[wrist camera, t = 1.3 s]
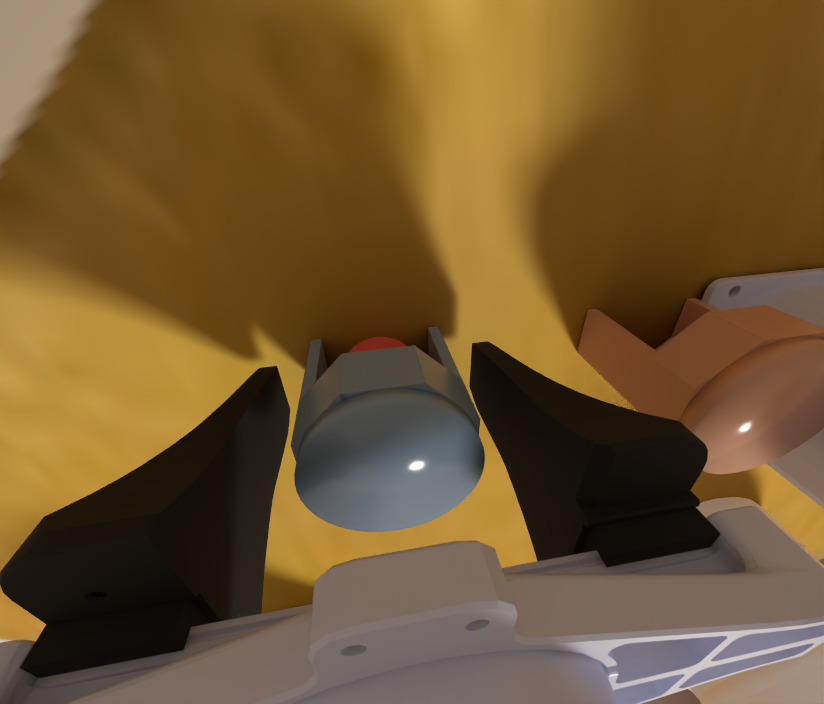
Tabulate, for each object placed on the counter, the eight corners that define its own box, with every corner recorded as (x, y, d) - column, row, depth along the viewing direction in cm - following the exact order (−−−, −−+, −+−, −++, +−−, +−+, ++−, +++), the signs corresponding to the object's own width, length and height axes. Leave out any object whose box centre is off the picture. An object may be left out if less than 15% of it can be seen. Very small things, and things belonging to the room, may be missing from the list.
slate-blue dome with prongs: (438, 292, 13) (492, 390, 8) (438, 394, 16) (479, 516, 11) (302, 305, 13) (271, 419, 8) (326, 409, 15) (314, 544, 10)
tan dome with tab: (709, 265, 14) (904, 336, 9) (666, 365, 17) (799, 461, 12) (596, 276, 14) (737, 358, 9) (570, 377, 16) (666, 484, 11)
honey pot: (575, 579, 29) (822, 1067, 14) (700, 482, 24) (1323, 1102, 8) (668, 591, 33) (929, 965, 18) (790, 512, 28) (1296, 947, 13)
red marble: (412, 318, 14) (426, 360, 11) (415, 379, 15) (428, 428, 13) (335, 326, 13) (331, 372, 11) (346, 388, 15) (345, 440, 12)
